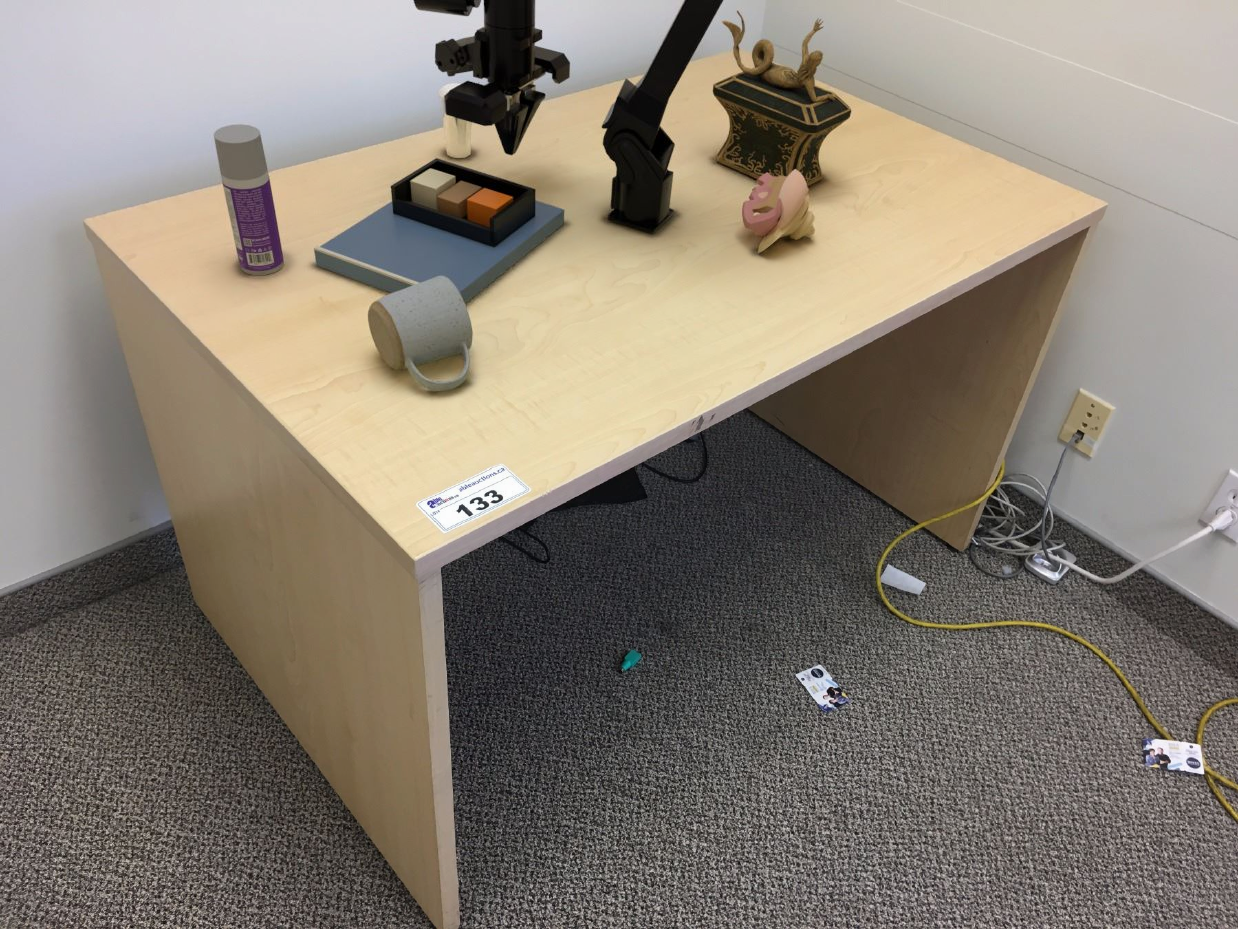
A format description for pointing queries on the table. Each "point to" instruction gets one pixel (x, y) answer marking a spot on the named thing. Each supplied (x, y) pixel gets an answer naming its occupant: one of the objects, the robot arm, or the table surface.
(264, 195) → the container
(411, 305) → the ceramic mug
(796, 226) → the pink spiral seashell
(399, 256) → the blue flat slab
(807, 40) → the decorative box
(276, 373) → the table surface
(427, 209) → the black open tray
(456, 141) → the milkshake
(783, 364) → the table surface
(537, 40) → the robot arm
